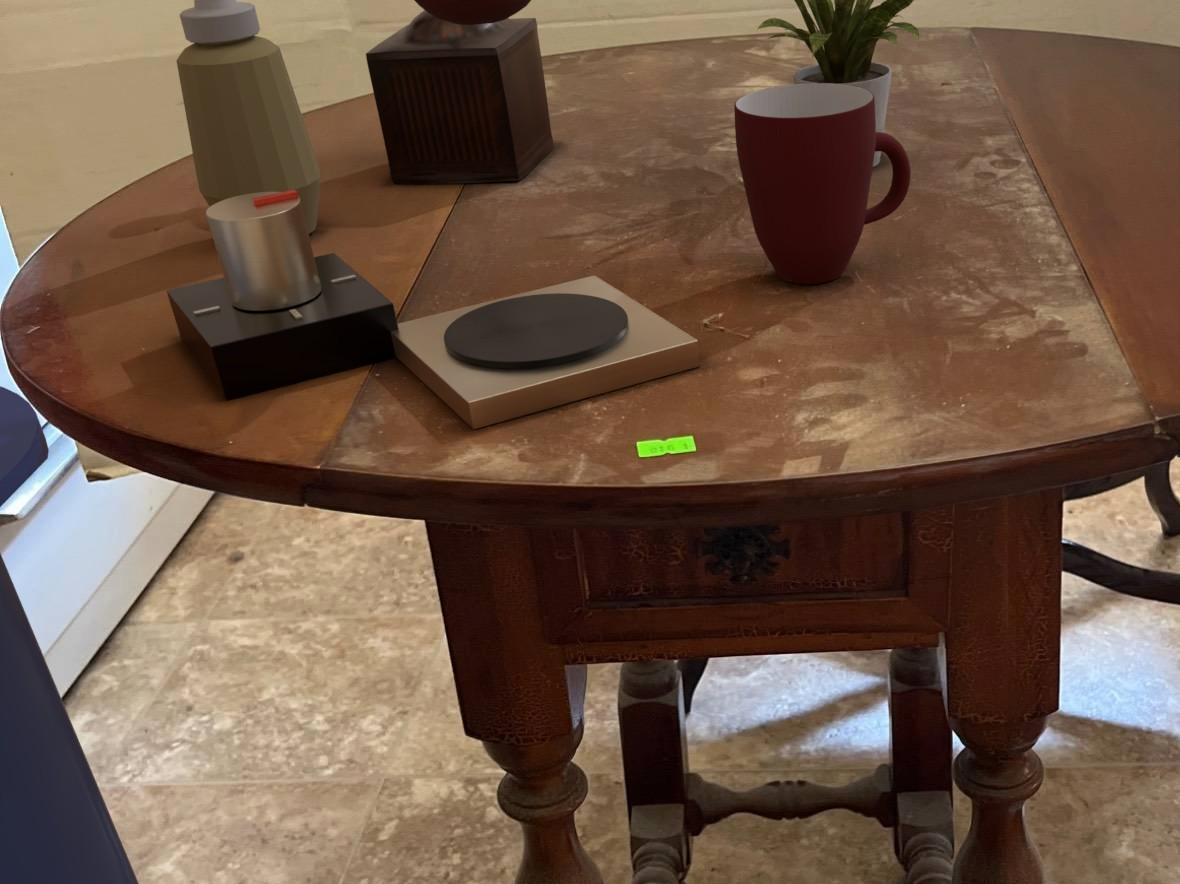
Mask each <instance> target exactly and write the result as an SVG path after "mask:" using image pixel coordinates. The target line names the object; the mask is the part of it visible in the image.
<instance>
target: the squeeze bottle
mask: <svg viewBox="0 0 1180 884" xmlns="http://www.w3.org/2000/svg"><path fill="white" fill-rule="evenodd" d="M193 5H194V6H193V7H189V8H187V9H184V10H182V11H181V12H180V13H179V19H180V22H181V23H180V24H181V26H182V30H183V34H184V38H185V40H186V41H188V42H189V43H191V44H190V45H188V46H186V47H184V49H183V50H182V51H181V53H180V54H179V56H178V57H177V58H176V66H177V70H178V71H177V72H178V79H179V82H180V83H179V84H180V88H181V94H182V98H183V99H182V100H183V106H184V111H185V117H186V122H187V129H188V134H189V135H188V136H189V140H190V146H191V151H192V158H193V162H194V163H193V164H194V168H195V173H196V180H197V185H198V190H199V192H200V194H201V196H202V197H203V199H204V200H205V203H206V204H207V205H208V208H209V207H210V206H212V205H214V204H216V203H218V202H220V201H223V200H225V199H228V198H232V197H236V196H240V195H245V194H251V193H259V192H285V191H290V190H296V191H297V192H298V197H299V198H300V201H301V205H302V209H303V213H304V217H305V221H306V226H307V230H308V234H309V235H310V234H311V233H313V232H314V231H315V230H316V229H317V223H318V211H319V209H318V208H319V197H320V184H321V173H322V171H321V169H320V166H319V163H318V160H317V156H316V154H315V151H314V147H313V144H312V142H311V139H310V135H309V133H308V129H307V127H306V124H305V120H304V118H303V114H302V111H301V108H300V105H299V102H298V99H297V96H296V94H295V91H294V87H293V84H292V81H291V78H290V76H289V72H288V69H287V66H286V63H285V60H284V58H283V54H282V51H281V48H280V46H278V45H277V44H276V43H274V42H272V41H271V40H270V39H268V38H266V37H261V36H258V34H259V33H260V31H261V27H260V23H259V18H258V15H257V11H256V6H255V5H254V4H253V3H250V2H246V1H245V2H244V1H237V0H193Z"/></svg>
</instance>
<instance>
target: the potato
mask: <svg viewBox="0 0 1180 884" xmlns="http://www.w3.org/2000/svg"><path fill="white" fill-rule="evenodd" d="M413 1H414V2H415V3H416V4H417V5H418V6H419V7H420V8H421V9H423V11H424V10H425V11H427V12H428V13H430V14H431V15H433V16H434V17H436V18H439V19H442V20H445V21H448V22H452V23H455V24H460V25H476V24H487V23H494V22H498V21H502V20H505V19H507V18H509V19H510V17H512V16H515V15H516V14H517V13H519V12H520V11H521V10H523V9H524V8H526V7H527V6H528V5H529V4H530V3H531V2H532V0H413Z"/></svg>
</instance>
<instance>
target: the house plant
mask: <svg viewBox="0 0 1180 884" xmlns="http://www.w3.org/2000/svg"><path fill="white" fill-rule="evenodd" d="M793 1H794V2H795V4H796V6H797V8H798V10H799V12H800V15H801V16H802V18H803V21H804V23H805V25H806V28H807V30H808V31H806V30H805V29H803V28H798V27H796V26H795V25H794V24H792V23H790V22H788V21H787V20H784V19H782V18H777V17H772V18H771V17H770V18H768V19H765V20H764V21H762V23H761V24H760V25H759V26H758V27H757V29H756V31H758V30H759V29H763V28H771V27H775V28H781V29H782V28H783V29H784V31H791V32H793V33H788V32H783V33H776V34H772V35H770V36H769V37H767V38H766V40H769V39H774V38H780V37H781V38H783V37H787V38H793V39H797V40H799V41H802V42H804V43H805V45H806V46H807V48H808V49H809V51H810V52H811V57H812V60H813V58H814V59H815V60H816V62H817V63H816V64H811V65H808V66H804V67H802V68H800V69H798V70H796V71H794V72H793V76H792V78H793V84H806V83H833V84H844V85H852V86H857V87H861V88H864V89H866V90H868V91H870V92H871V93H872V94H873V95H874V98H875V120H876V132H881V133H885V125H886V119H887V111H888V103H889V95H890V89H891V82H892V76H893V75H892V73H893V69H892V68H891V66H890V65H887V64H885V63H881V62H876V61H873V58H874V57H873V56H874V53H875V49H876V46H877V42H879V40H880V39H882V40H885V41H888V42H890V43H891V44H894V46H895V47H896V49H899V47H898V44H897V39H898V38H897V37H898V35H897V34H896V33H894V32H892V31H886V30H887V29H889V28H891V27H895V28H899V29H902V30H904V31H906V32H908V33H910V34H912V35H913V36H914V37H915V38H916V39H917V41H918V43H919V45H920V46H921V40H920V32H919V29H918V28H917V27H916V25H914V24H912V23H910V22H906V21H905V22H904V21H898V22H895V21H893V20H892V19H894V18H897V17H901V18H902V19H904V17H903V16H902V15H899V14H898V13H900V12H902V11H903V10H905V9H906V8H908V7H910V6H911V5H912V4H913V2H914V0H884V1H882V2H881V3H880V4H877V5H876V6H874V7H872V5H873V3H874V1H875V0H833V1H832V0H806V1H807V4H808V7H809V8H810V11H811V13H812V15H813V18H814V19H813V18H812V16H811V14H810V12H809V10H808V8H807V6H806V4H805V1H804V0H793ZM833 3H834V4H833ZM814 20H815V21H814ZM815 22H816V23H815ZM816 24H817V25H816ZM889 24H890V25H889ZM794 33H795V34H794ZM881 154H882V151H876V152H875V154H874V162H873V168H874V167H876V166H878V165H879V164H880V160H881Z"/></svg>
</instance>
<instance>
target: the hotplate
mask: <svg viewBox="0 0 1180 884" xmlns="http://www.w3.org/2000/svg"><path fill="white" fill-rule="evenodd" d="M397 324H398V329H399V330H395V331H391V337H392V341H393V346H394V351H395V355H396V357H395V358H397V359H398V360H399V361H400V362H401V363H402V364H403V365H404V366H405V367H406V368H407V369H408V370H409V371H410V372H412V373H413V375H415V376H416V377H417V378H418V379H419V380H420V381H421V382H422V383H423V384H425V386H426V387H427V388H429V389H430V390H431V391H432V392H433V393H434V394H435V395H436V396H437V397H438V398H439V399H440V400H441V401H443V402H444V403H445V405H447V406H448V407H449V408H450V409H451V410H452V412H454V413H455V414H456V415H458V416H459V418H461V420H463V421H464V422H465V423H466V424H467V425H468V426H469V427H470V428H472V430H478V429H482V428H484V427H488V426H492V425H495V424H498V423H502V422H506V421H510V420H513V419H517V418H520V417H524V416H527V415H531V414H534V413H538V412H542V411H545V410H548V409H552V408H555V407H559V406H563V405H567V404H570V403H573V402H578V401H581V400H585V399H588V398H591V397H592V398H593V397H595V396H598V395H602V394H603V395H604V394H606V393H610V392H613V391H617V390H621V389H623V388H627V387H631V386H634V385H635V386H636V385H638V384H641V383H645V382H648V381H653V380H656V379H659V378H663V377H666V376H670V375H674V374H678V373H681V372H684V371H689V370H692V369H696V368H699V367H700V366H701V362H700V350H699V341H698V339H697V338H695V337H693V336H691V334H689V333H687V332H686V331H684V330H683V329H681V328H679V327H677V326H676V325H674V324H673V323H671V322H669V320H667V319H665V318H663V317H662V316H660V315H658V314H657V313H655V312H653V311H652V310H651V309H649V308H647V307H646V306H644V305H643V304H641V303H639V302H638V301H636V300H635V299H633V298H632V297H630V296H628V295H627V294H625V293H623V292H622V291H621V290H619V289H617V288H616V287H614V286H613V285H611V284H609V283H608V282H606V281H604V280H603V279H601V277H598V276H596V275H591V276H587V277H582V278H579V279H573V280H570V281H566V282H562V283H557V284H554V285H550V286H545V287H542V288H539V289H533V290H529V291H526V292H521V293H517V294H512V295H508V296H505V297H501V298H496V299H493V300H488V301H484V302H480V303H476V304H472V305H468V306H463V307H460V308H456V309H451V310H448V311H443V312H440V313H436V314H432V315H431V314H430V315H427V316H423V317H419V318H416V319H410V320H407V321H403V322H399V323H398V322H397Z"/></svg>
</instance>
